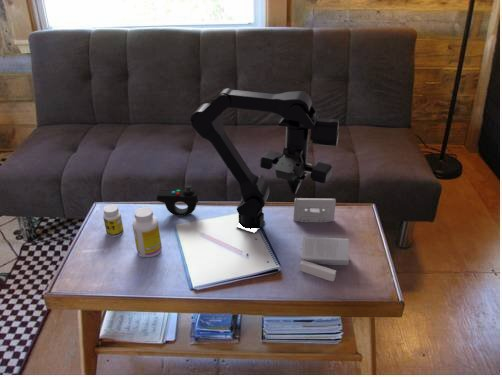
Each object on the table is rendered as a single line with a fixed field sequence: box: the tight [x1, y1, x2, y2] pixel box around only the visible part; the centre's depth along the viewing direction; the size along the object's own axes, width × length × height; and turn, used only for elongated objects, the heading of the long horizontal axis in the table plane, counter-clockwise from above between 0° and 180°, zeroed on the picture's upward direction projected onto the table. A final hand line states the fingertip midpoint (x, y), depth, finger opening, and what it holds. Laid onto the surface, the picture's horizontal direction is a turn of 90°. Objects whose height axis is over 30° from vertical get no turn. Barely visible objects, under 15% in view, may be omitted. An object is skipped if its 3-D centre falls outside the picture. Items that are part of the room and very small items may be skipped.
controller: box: [156, 184, 199, 217], centre depth 139 cm, size 4×12×10 cm, turn 90°
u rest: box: [299, 259, 337, 282], centre depth 122 cm, size 9×11×2 cm
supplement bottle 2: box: [132, 206, 162, 258], centre depth 124 cm, size 7×7×13 cm
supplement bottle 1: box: [102, 204, 124, 238], centre depth 132 cm, size 5×5×8 cm
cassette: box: [292, 197, 337, 223], centre depth 137 cm, size 12×2×8 cm, turn 89°
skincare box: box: [301, 236, 350, 266], centre depth 121 cm, size 6×4×12 cm
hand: (294, 193), depth 127 cm, fingers closed
